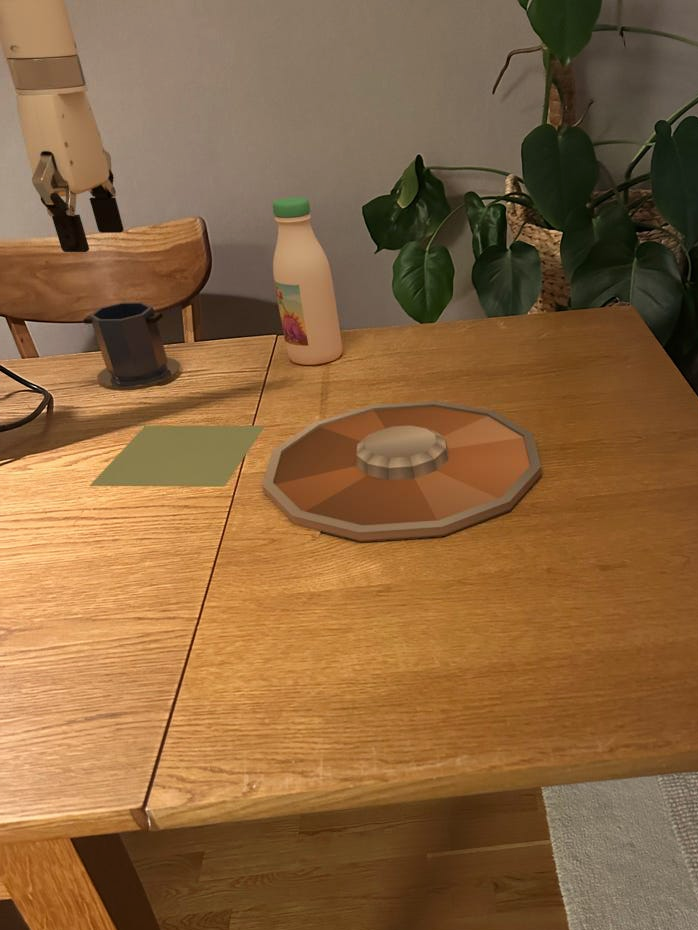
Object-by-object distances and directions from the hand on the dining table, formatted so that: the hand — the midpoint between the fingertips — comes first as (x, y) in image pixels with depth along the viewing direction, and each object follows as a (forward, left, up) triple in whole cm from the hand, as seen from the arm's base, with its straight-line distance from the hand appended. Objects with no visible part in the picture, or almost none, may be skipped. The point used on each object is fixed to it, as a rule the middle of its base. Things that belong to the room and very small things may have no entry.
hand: (94, 241), depth 104 cm
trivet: (+1, 0, -17) cm, 17 cm away
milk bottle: (+24, +7, -18) cm, 30 cm away
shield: (+42, -27, -18) cm, 53 cm away
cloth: (+16, -24, -17) cm, 33 cm away
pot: (+1, 0, -17) cm, 17 cm away
